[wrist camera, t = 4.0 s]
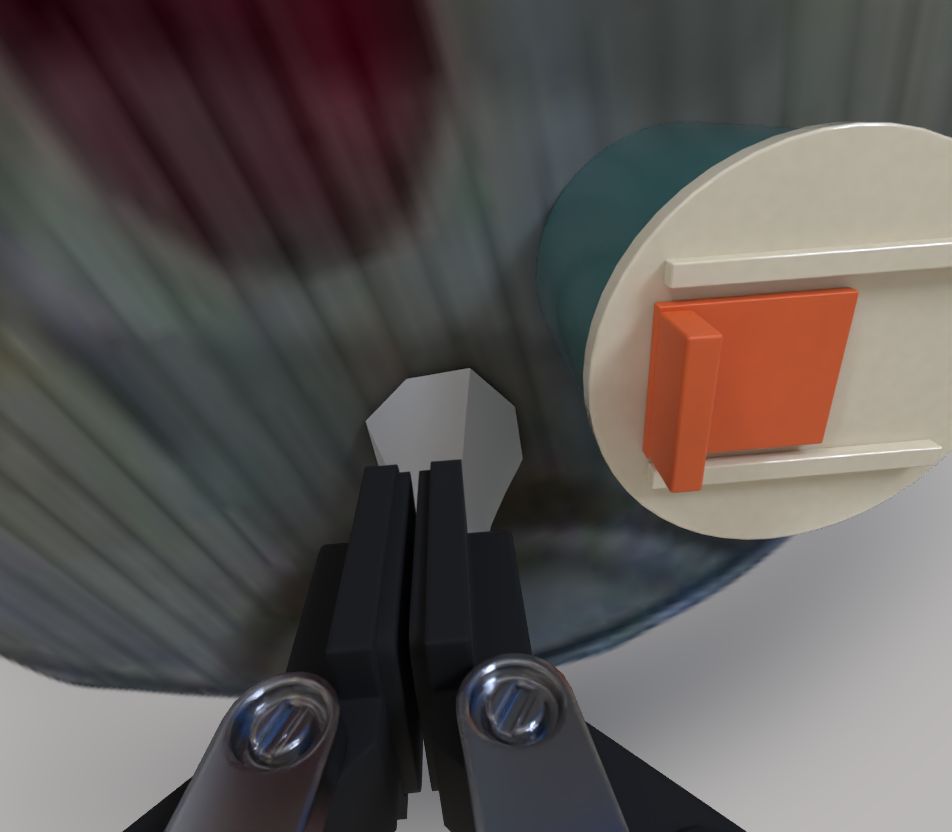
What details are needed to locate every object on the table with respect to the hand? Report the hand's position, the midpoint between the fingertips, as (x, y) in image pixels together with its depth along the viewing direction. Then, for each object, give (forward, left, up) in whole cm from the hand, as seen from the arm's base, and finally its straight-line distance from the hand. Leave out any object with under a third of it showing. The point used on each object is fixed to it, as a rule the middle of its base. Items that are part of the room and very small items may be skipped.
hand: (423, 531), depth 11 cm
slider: (+8, 0, -5) cm, 10 cm away
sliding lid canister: (+10, 0, -16) cm, 19 cm away
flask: (0, -7, -16) cm, 18 cm away
